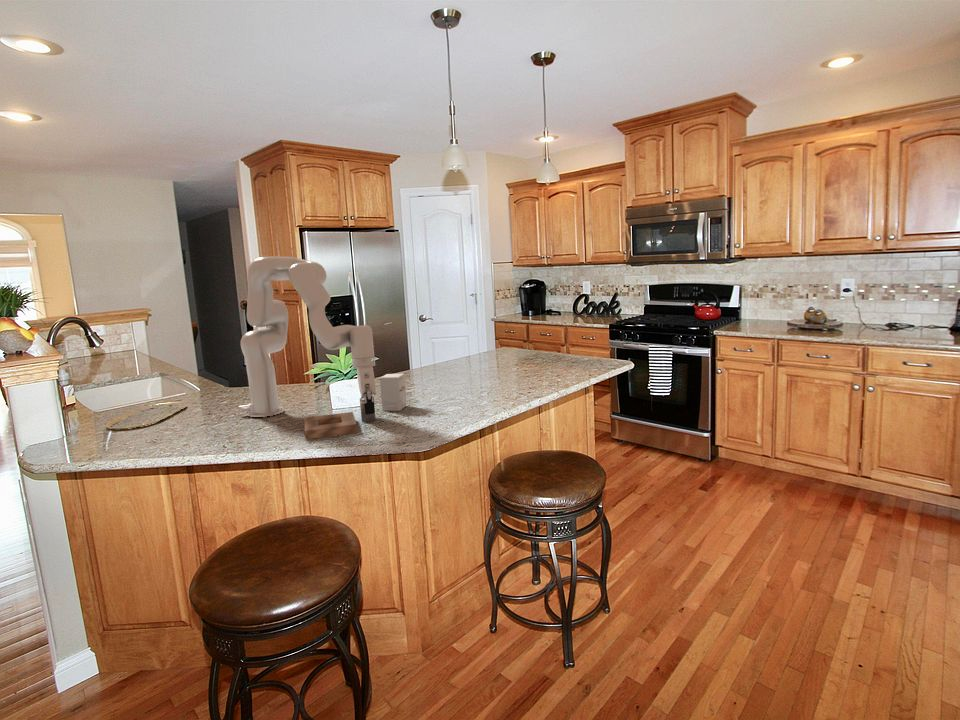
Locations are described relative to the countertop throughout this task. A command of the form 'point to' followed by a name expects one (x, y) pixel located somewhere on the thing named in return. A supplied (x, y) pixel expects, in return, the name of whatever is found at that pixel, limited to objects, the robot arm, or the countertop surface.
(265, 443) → the countertop surface
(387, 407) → the supplement box
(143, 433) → the countertop surface
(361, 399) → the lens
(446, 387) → the countertop surface
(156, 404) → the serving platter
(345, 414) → the wooden slotted base
